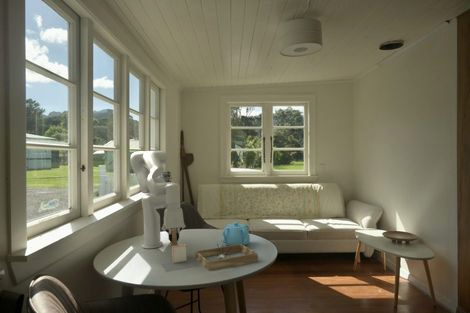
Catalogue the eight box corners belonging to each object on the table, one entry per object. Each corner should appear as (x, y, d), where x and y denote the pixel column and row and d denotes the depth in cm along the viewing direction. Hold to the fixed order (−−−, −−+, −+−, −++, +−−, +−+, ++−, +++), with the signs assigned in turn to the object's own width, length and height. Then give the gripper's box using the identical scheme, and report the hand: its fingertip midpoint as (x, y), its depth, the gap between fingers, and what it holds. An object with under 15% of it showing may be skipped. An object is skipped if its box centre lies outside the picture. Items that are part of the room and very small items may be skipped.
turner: (168, 244, 157) (168, 229, 158) (177, 243, 159) (177, 228, 160) (173, 248, 147) (173, 232, 148) (183, 247, 149) (182, 231, 150)
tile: (172, 262, 146) (172, 246, 146) (186, 260, 149) (185, 244, 149) (173, 263, 144) (172, 247, 144) (187, 261, 147) (186, 245, 147)
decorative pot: (252, 242, 180) (252, 220, 180) (246, 250, 165) (245, 225, 165) (227, 240, 185) (227, 219, 185) (219, 248, 169) (218, 224, 170)
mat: (160, 264, 144) (160, 263, 144) (191, 259, 151) (191, 258, 151) (166, 273, 134) (166, 271, 134) (199, 266, 141) (199, 265, 141)
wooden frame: (195, 259, 151) (195, 251, 151) (241, 251, 163) (241, 243, 163) (208, 271, 135) (207, 262, 135) (257, 261, 146) (257, 253, 146)
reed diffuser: (213, 255, 140) (218, 238, 160) (209, 268, 141) (215, 250, 161) (233, 261, 140) (236, 243, 160) (230, 274, 141) (233, 255, 160)
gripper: (159, 208, 150) (160, 244, 150) (189, 205, 157) (190, 240, 157) (156, 206, 157) (157, 241, 157) (185, 204, 164) (186, 236, 164)
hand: (174, 240), depth 157 cm, fingers closed on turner, 2 cm apart
